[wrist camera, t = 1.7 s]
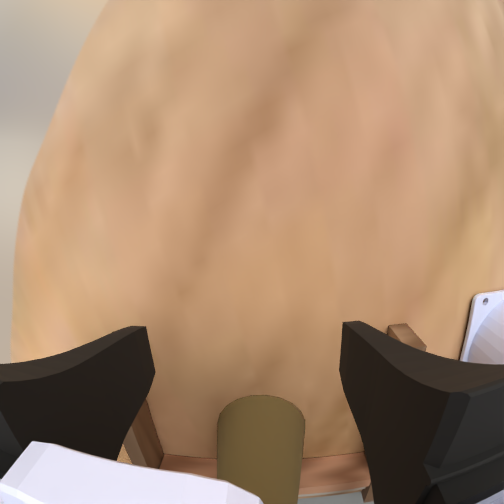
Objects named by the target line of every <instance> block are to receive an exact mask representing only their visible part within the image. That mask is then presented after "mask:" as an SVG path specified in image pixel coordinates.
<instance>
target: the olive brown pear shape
mask: <svg viewBox="0 0 504 504" xmlns="http://www.w3.org/2000/svg"><path fill="white" fill-rule="evenodd" d="M304 433H305V419H304V417H303V415H302V413H301V411H300V410H299V409H298V408H297V407H296V406H294V405H293V404H292V403H290V402H288V401H286V400H284V399H282V398H279V397H273V396H268V395H255V396H248V397H244V398H240V399H237V400H235V401H234V402H232V403H230V404H229V405H227V406H226V407H225V408H224V410H223V411H222V412H221V413H220V416H219V420H218V430H217V479H220V480H226V481H228V482H230V483H232V484H234V485H236V486H238V487H240V488H242V489H244V490H246V491H248V492H251V493H253V494H255V495H256V496H258V497H259V498H260V499H261V501H262V502H263V504H297V503H298V494H299V485H300V476H301V466H302V456H303V445H304Z"/></svg>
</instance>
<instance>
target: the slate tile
mask: <svg viewBox="0 0 504 504" xmlns="http://www.w3.org/2000/svg"><path fill="white" fill-rule="evenodd" d="M297 504H374V501H371V502H366V503H364V502H363V498H362V494H361V491H360V492H354V493H348V494H341V495H333V496H324V497H314V498H301V499H298V503H297Z"/></svg>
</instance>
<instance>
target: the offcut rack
mask: <svg viewBox="0 0 504 504" xmlns="http://www.w3.org/2000/svg"><path fill="white" fill-rule="evenodd" d="M112 333H113V332H112ZM388 336H390V337H392V338H394V339H396V340H398V341H400V342H403V343H405V344H407V345H409V346H412V347H414V348H416V349H419V350H422V351H426V345H425V344H424V343H423V341H422V340H421V339H420V338H419V337H418V336H417V335H416V334H415V333H414V331H413V330H412V329H411V328H410V327H409V326H408V325H407V324H398V325H389V327H388ZM123 444H124V446H125V449H126V451H127V453H128V455H129V457H130V460H131V462H132V464H133V465H138V466H144V467H149V468H156V469H162V470H169V471H177V472H185V473H192V474H197V475H201V476H206V477H210V478H215V479H217V459H209V458H196V457H186V456H177V455H168V454H165V455H164V454H163V451H162V448H161V445H160V442H159V439H158V436H157V433H156V430H155V427H154V424H153V421H152V418H151V414H150V411H149V408H148V404H147V401H146V399H145V401H144V402H143V404H142V406H141V408H140V410H139V412H138V414H137V416H136V417H135V419H134V421H133V423H132V425H131V427H130V429H129V431H128V432H127V435H126V437H125V439H124V441H123ZM360 491H361V494H362V498H363V502H364V503H366V502H371V501H374V499H373V492H372V485H371V479H370V474H369V468H368V463H367V459H366V454H365V453H364V452H359V453H352V454H345V455H337V456H328V457H318V458H305V459H302V466H301V476H300V485H299V494H298V499H301V498H314V497H324V496H333V495H341V494H348V493H354V492H360Z"/></svg>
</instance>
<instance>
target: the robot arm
mask: <svg viewBox="0 0 504 504" xmlns="http://www.w3.org/2000/svg"><path fill="white" fill-rule="evenodd" d="M484 299H485V301H484V302H483V300H484ZM339 371H340V376H341V381H342V385H343V390H344V393H345V396H346V398H347V401H348V404H349V406H350V409H351V411H352V414H353V417H354V419H355V422H356V425H357V427H358V430H359V432H360V435H361V438H362V442H363V445H364V449H365V454H366V459H367V463H368V468H369V474H370V479H371V485H372V492H373V499H374V504H504V290H500V291H493V292H486V293H480V294H477V295H475V296H474V298H473V300H472V305H471V311H470V317H469V322H468V327H467V332H466V336H465V341H464V345H463V349H462V353H461V357H460V361H459V360H454V359H449V358H445V357H441V356H437V355H434V354H431V353H428V352H425V351H422V350H419V349H416V348H414V347H412V346H409V345H407V344H405V343H403V342H400V341H398V340H396V339H394V338H392V337H390V336H388V335H387V334H385V333H383V332H381V331H379V330H377V329H375V328H373V327H372V326H370V325H368V324H366V323H364V322H361V321H351V322H343V327H342V342H341V355H340V367H339ZM154 375H155V368H154V363H153V359H152V354H151V349H150V344H149V340H148V334H147V329H146V326H130V327H126V328H123V329H120V330H118V331H115V332H113V333H111V334H108V335H106V336H104V337H102V338H99V339H97V340H95V341H92V342H90V343H88V344H85V345H82V346H80V347H77V348H75V349H72V350H70V351H67V352H64V353H61V354H57V355H54V356H50V357H46V358H42V359H37V360H31V361H26V362H19V363H10V364H0V504H263V502H262V501H261V499H260V498H259V497H258V496H256V495H255V494H253V493H251V492H248V491H246V490H244V489H242V488H240V487H238V486H236V485H234V484H232V483H230V482H228V481H226V480H220V479H215V478H210V477H206V476H201V475H197V474H192V473H185V472H177V471H169V470H162V469H156V468H149V467H144V466H138V465H133V464H128V463H123V462H119V461H117V458H118V455H119V452H120V450H121V447H122V444H123V441H124V439H125V437H126V435H127V432H128V431H129V429H130V427H131V425H132V423H133V421H134V419H135V417H136V416H137V414H138V412H139V410H140V408H141V406H142V404H143V402H144V401H145V399H146V397H147V395H148V393H149V390H150V387H151V385H152V382H153V378H154Z"/></svg>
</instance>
